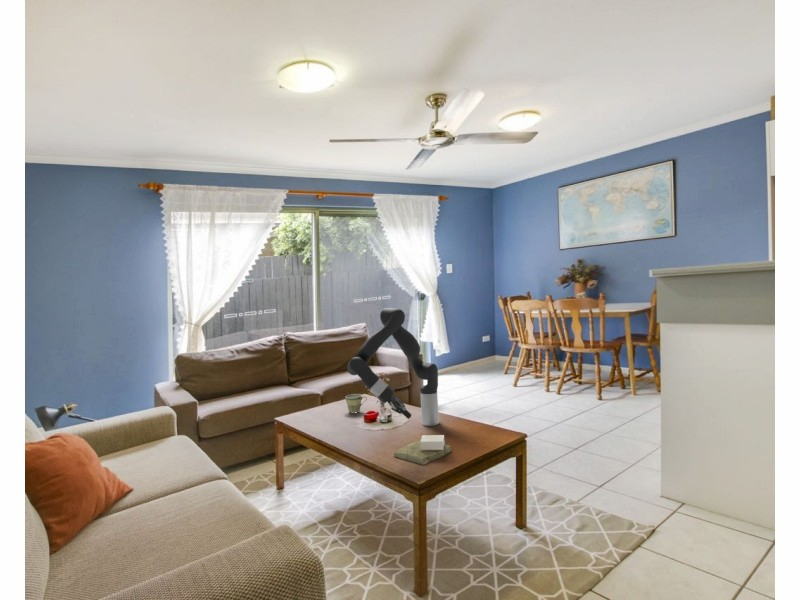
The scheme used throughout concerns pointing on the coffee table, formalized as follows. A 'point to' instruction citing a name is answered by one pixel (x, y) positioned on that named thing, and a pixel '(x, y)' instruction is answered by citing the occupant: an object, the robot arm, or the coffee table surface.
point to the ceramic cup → (354, 402)
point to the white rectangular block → (432, 442)
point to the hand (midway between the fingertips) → (410, 417)
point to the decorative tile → (420, 453)
